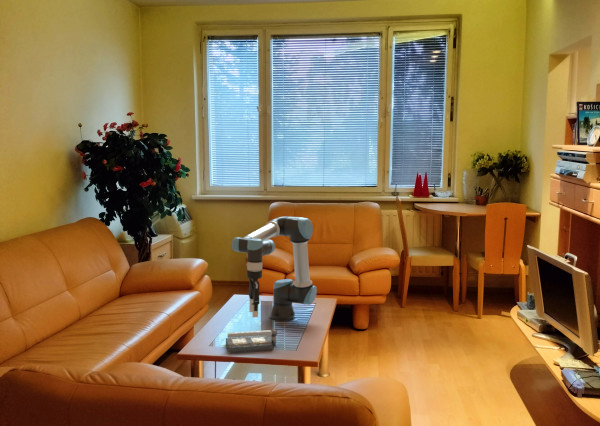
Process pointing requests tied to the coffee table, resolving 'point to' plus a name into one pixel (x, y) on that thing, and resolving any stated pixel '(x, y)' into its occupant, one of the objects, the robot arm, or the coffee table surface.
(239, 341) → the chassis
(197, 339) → the coffee table surface
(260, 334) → the ball-tipped flat stick
